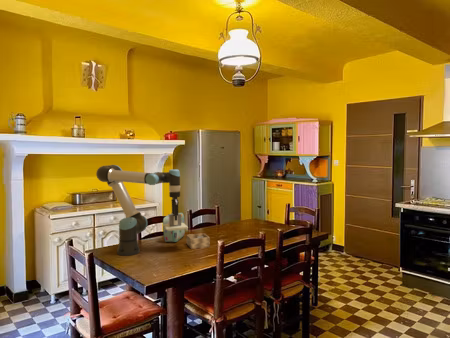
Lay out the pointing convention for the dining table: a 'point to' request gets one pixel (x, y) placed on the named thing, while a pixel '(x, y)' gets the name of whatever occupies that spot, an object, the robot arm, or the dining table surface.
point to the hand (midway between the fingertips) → (175, 224)
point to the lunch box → (175, 234)
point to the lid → (175, 227)
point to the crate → (198, 241)
